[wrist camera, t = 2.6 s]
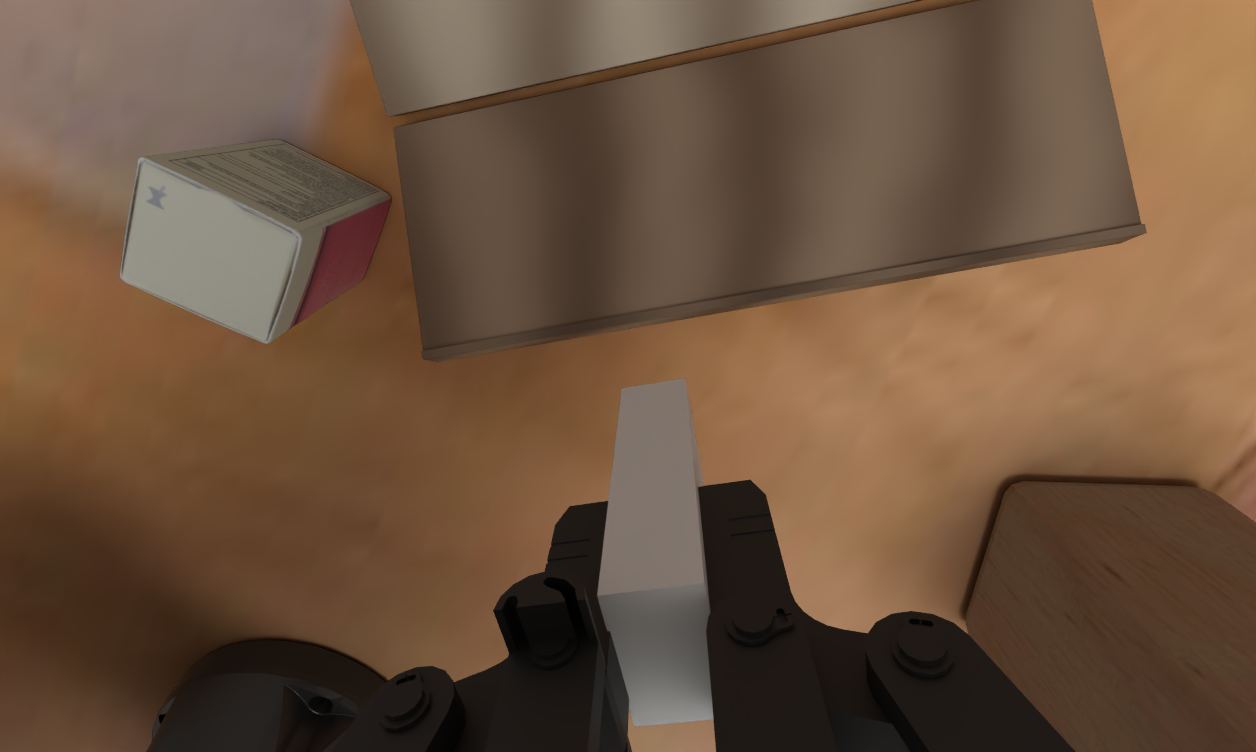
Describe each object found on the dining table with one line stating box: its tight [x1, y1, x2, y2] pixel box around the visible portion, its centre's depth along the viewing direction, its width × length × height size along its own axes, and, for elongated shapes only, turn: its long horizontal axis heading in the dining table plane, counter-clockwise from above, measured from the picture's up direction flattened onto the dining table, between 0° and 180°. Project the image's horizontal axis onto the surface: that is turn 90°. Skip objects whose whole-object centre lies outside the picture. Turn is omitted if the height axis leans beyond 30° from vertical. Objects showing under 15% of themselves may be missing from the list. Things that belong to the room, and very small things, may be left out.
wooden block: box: [966, 481, 1256, 752], centre depth 24 cm, size 10×10×20 cm
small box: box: [120, 139, 391, 344], centre depth 23 cm, size 5×4×8 cm
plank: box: [393, 0, 1147, 362], centre depth 23 cm, size 25×9×1 cm
